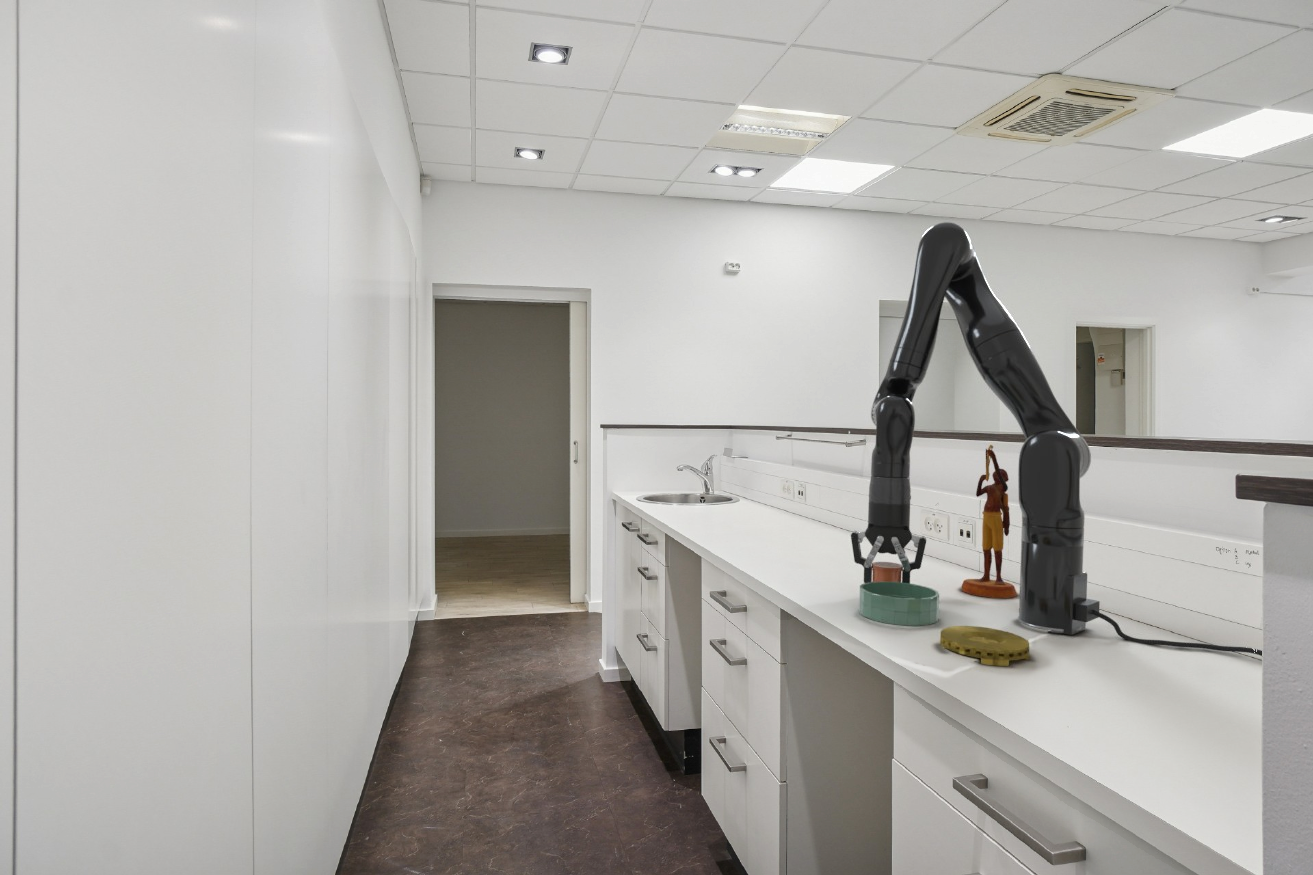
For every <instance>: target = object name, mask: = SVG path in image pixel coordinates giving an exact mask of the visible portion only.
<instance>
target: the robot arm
mask: <svg viewBox="0 0 1313 875" xmlns="http://www.w3.org/2000/svg"><path fill="white" fill-rule="evenodd" d="M996 296H997V295H995V294H994V292H993V291H992V288H991V287H990V285H989V283H988V281H987V279H986V276H985V275H984V272H983V270H982V266H981V265H980V262H979V259H978V257H977V252H976V250H975V247H974V245H973V242H972V240H971V238H970V235H969V234H968V233H967V232H966V230H965V229H964V228H963V227H962V226H960V225H959V224H957V223H955V222H950V221H945V222H939V223H937V224H934V225H932V226H931V227H930V228H928V229H927V230H926V231H925V232H924V233H923V235H922V236H921V237H920V240H919V242H918V247H917V254H916V257H915V264H914V272H913V278H912V283H911V287H910V292H909V295H908V300H907V303H906V308H905V311H904V315H903V319H902V322H901V325H900V328H899V331H898V334H897V337H896V340H895V343H894V346H893V348H892V352H891V355H890V358H889V361H888V364H887V368H886V372H885V374H884V377H883V379H882V381H881V383H880V385H879V388H878V390H877V392H876V394H875V397H874V399H873V402H872V405H871V408H870V419H871V422H872V424H873V425H874V426H875V445H874V447H873V449H872V451H871V462H870V480H869V486H868V487H869V488H868V511H867V512H868V516H867V528H866V529H865V530H863V531H857V530H853V531H852V532H851V533H850V539H851V540H850V541H851V547H852V553H853V561H854V563H855V564H858V565H861V566H862V567H863V584H864V583H868V582H872V581H873V569H872V563H873V562H874V560H875V558H876V556H877V554H890V555H897V557H898V559H899V561H900V564H901V565H902V566H903V571H901V582H903V583H910V584H911V573H912V571H913V570H919V569H921V567H922V562H923V558H924V554H925V549H926V545H927V538H926V536H925V535H921V536H920V535H916V534H913V533H912V531H911V529H910V525H911V524H910V523H911V500H912V494H911V492H912V490H911V488H912V487H911V478H910V477H911V449H912V443H913V438H914V434H915V433H914V432H915V426H916V412H915V407H914V404H913V401H914V397H915V394H916V392H917V389H918V388H919V387H920V386H921V385H922V383H923V382H924V379H925V377H926V376H927V371H928V369H929V366H930V363H931V361H932V358H933V354H934V351H935V347H936V343H937V340H938V339H937V338H938V333H939V327H940V326H939V325H940V320H941V315H942V314H941V313H942V308H943V305H944V300H945V299H946V301H947V303H948V304H949V306H950V307H951V309H952V311H953V314H954V317H955V320H956V323H957V326H958V329H959V332H960V336H961V338H962V341H963V343H964V346H965V348H966V350H967V353H968V354H969V356H970V358H971V360H972V363H973V364H974V366H975V368H976V370H977V372H978V374H979V375H980V377H981V378H982V380H983V381H984V383H985V384H986V385H987V386H988V388H989V389H990V390H991V391H992V393H994V395H995V396H996V397H997V398H998V400H1000V402H1001V403H1002V404H1004V406H1005V407H1006V408H1007V409H1008V411H1009V412H1010V413H1011V414H1012V415H1013V417H1014V418H1015V421H1016V422H1017V423H1018V425H1019V427H1020V430H1021V431H1022V433H1023V436H1024V438H1025V441H1024V442H1023V444H1022V445H1021V449H1020V451H1019V456H1018V471H1017V472H1018V473H1017V474H1018V475H1017V476H1018V478H1017V479H1018V483H1017V484H1018V504H1019V508H1020V511H1021V539H1020V540H1021V541H1020V542H1021V543H1020V568H1019V569H1020V570H1019V594H1018V596H1019V597H1018V598H1019V600H1018V604H1019V605H1018V616H1017V620H1018V622H1020V623H1021V624H1023V625H1025V626H1028V627H1031V628H1035V629H1040V630H1046V631H1047V633H1053V634H1064V635H1068V636H1069V635H1070V636H1072V635H1073V636H1074V634H1077V633H1080V632H1082V631H1084V630H1086V628H1087V623H1088V622H1091V621H1094V620H1096V619H1098V618H1100V619H1102V620H1104V621H1106V622H1107V623H1109V625H1111V626H1112V627H1113V628H1114V630H1115V632H1116V634H1117V635H1118V636H1119V637H1120V638H1122V639H1124V640H1125V641H1128V642H1133V643H1137V644H1138V643H1139V644H1145V645H1151V646H1152V645H1154V646H1155V645H1156V646H1166V647H1167V646H1168V647H1175V648H1188V649H1189V648H1191V649H1205V650H1211V651H1220V652H1235V653H1248V654H1253V655H1257V656H1261V657H1263V656H1262V651H1263V650H1261V649H1257V648H1254V649H1255V651H1254V650H1253V649H1252V647H1247V648H1246V646H1230V645H1229V646H1228V645H1217V644H1210V643H1209V644H1208V643H1202V642H1201V643H1200V642H1186V641H1185V642H1183V641H1172V640H1171V641H1170V640H1164V639H1163V640H1162V639H1145V638H1144V639H1143V638H1136V637H1133V636H1131V635H1128V634H1126V633H1124V632H1123V631H1122V629H1121V627H1120V626H1119V624H1118V622H1116V621H1115V620H1114V619H1113V618H1111V617H1110V616H1108V615H1106V614H1104V613H1102V612H1100V602H1101V601H1100V600H1095V599H1092V598H1091V599H1090V598H1087V597H1088V572H1086V571H1084V545H1085V544H1084V543H1085V542H1084V541H1085V519H1086V518H1085V511H1084V510H1083V507H1082V504H1081V495H1080V494H1081V492H1080V490H1081V489H1080V488H1081V485H1080V484H1081V478H1083V477H1084V476H1085V475H1087V473H1088V471H1089V469H1090V467H1091V462H1092V453H1091V450H1090V449H1091V448H1090V446H1089V444H1088V443H1087V441H1086V439H1085V438H1084V436H1082V434H1081V433H1080V431H1079V430H1078V429H1077V428H1076V427H1075V425H1074V423H1073V422H1072V420H1071V419H1070V418H1069V416H1068V415H1067V414H1066V412H1065V411H1064V409H1063V408H1062V406H1061V405H1060V403H1059V402H1058V400H1057V397H1055V395H1054V393H1053V391H1052V388H1051V386H1050V384H1049V382H1048V380H1047V377H1046V375H1045V373H1044V372H1043V369H1042V368H1041V365H1040V363H1039V361H1038V359H1037V358H1036V356H1035V354H1034V352H1033V350H1032V347H1031V346H1030V344H1029V342H1028V340H1027V339H1026V337H1025V335H1024V333H1023V332H1022V330H1021V327H1020V326H1019V325H1018V323H1017V322H1016V320H1015V319H1014V317H1013V316H1012V314H1011V313H1010V312H1009V311H1008V310H1007V308H1006V307H1005V306H1004V305H1003V303H1002V302H1001V301H1000V300H999V298H997V297H996ZM864 538H866V539H867V541H868V542H869V544H870V545H871V546H872V547H871V549H870V551H869V553H868V554H867V557H863V556H862V548H861V544H862V543H863V542H864ZM911 541H912V542H913V546H914V547H915V548H916V553H915V557H914V560H913V561H911V562H910V561H909V558H908V555H907V553H906V550H905V548H906V547H907V545H908V544H909V543H910V542H911ZM1256 649H1257V652H1256ZM1254 652H1255V653H1254Z"/></svg>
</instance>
